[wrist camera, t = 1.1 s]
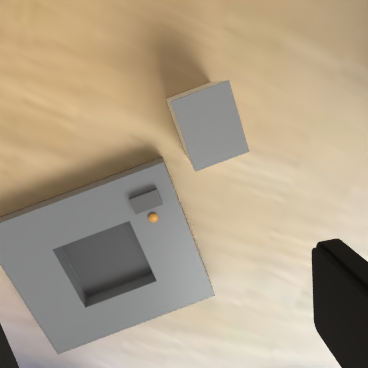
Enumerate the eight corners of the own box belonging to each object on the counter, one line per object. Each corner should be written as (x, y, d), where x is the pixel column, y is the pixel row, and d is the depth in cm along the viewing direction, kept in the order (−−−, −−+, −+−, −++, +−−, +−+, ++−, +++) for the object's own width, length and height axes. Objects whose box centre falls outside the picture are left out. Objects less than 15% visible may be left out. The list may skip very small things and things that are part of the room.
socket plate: (162, 157, 27) (163, 164, 25) (210, 283, 32) (216, 299, 29) (-10, 220, 27) (-26, 234, 25) (63, 338, 32) (56, 359, 29)
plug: (210, 81, 26) (228, 80, 20) (228, 138, 27) (249, 151, 22) (165, 98, 26) (171, 101, 20) (185, 154, 27) (195, 171, 22)
